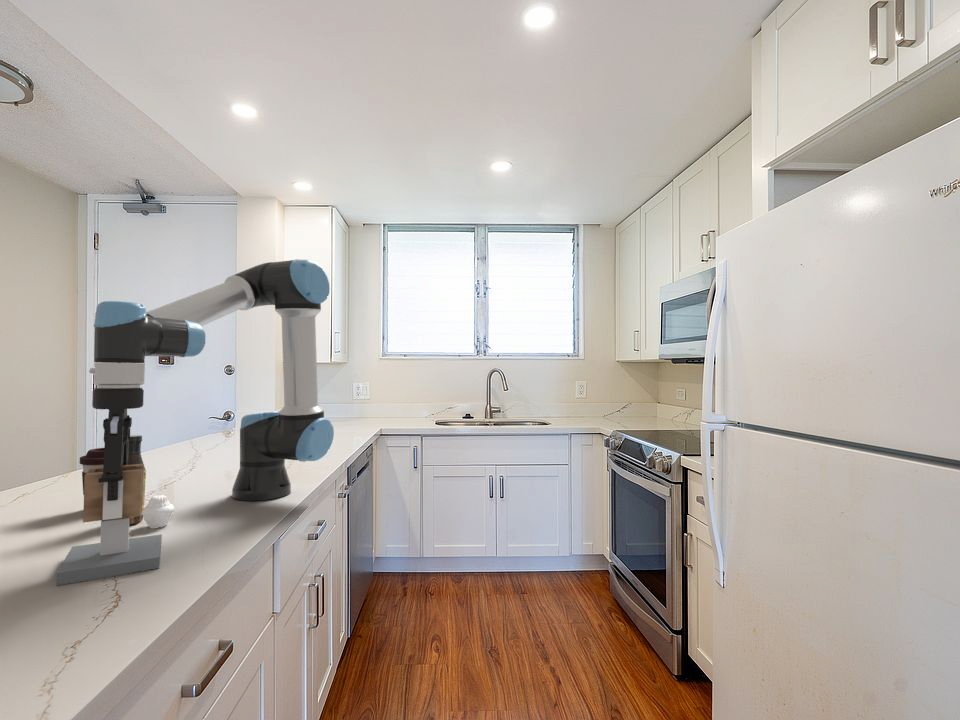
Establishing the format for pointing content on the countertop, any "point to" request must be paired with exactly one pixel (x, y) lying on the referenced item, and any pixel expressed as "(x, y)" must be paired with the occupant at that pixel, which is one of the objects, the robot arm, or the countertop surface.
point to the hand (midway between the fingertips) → (115, 512)
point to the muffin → (158, 511)
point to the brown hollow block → (131, 492)
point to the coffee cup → (92, 461)
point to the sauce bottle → (136, 458)
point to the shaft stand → (110, 554)
